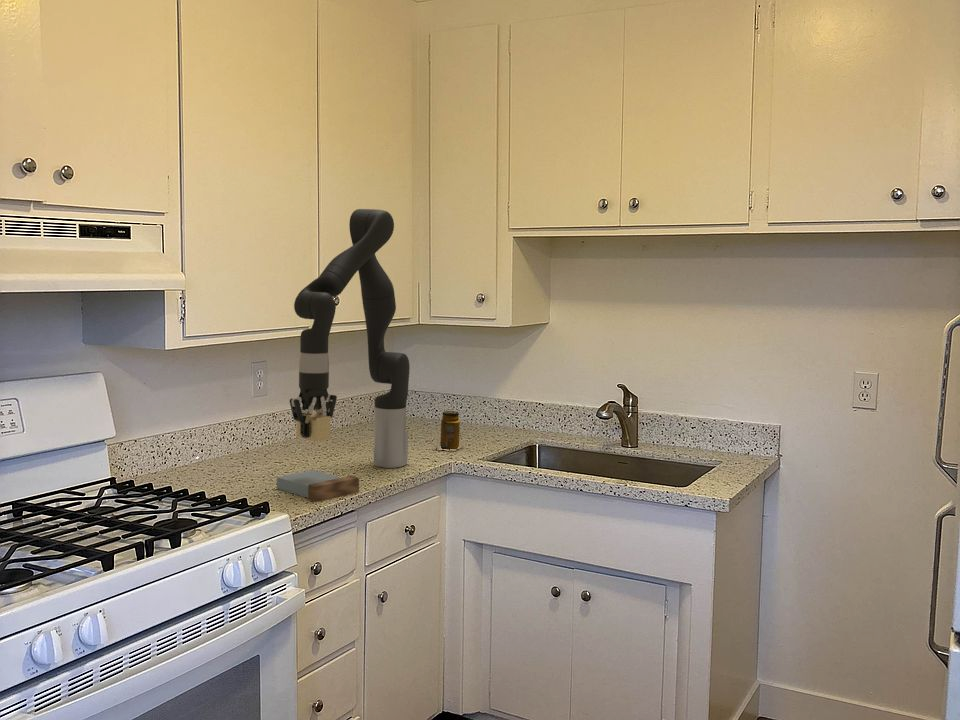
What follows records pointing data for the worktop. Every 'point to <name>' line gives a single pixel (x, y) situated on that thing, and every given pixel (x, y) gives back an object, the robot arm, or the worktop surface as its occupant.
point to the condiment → (450, 430)
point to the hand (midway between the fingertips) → (313, 435)
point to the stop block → (333, 488)
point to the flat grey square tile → (302, 481)
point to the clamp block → (317, 427)
